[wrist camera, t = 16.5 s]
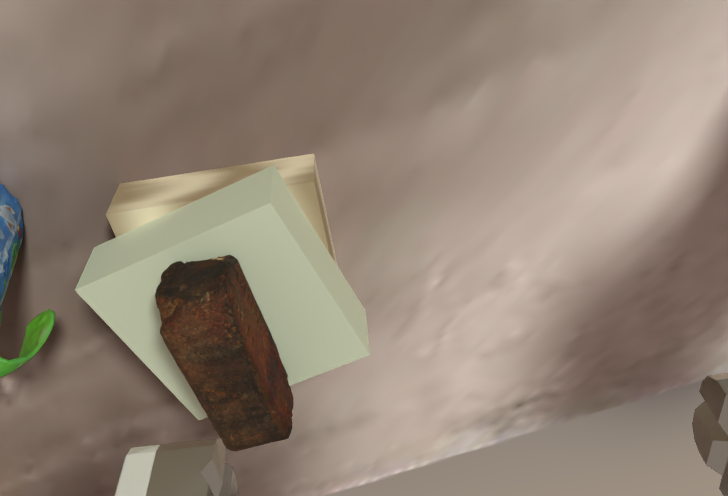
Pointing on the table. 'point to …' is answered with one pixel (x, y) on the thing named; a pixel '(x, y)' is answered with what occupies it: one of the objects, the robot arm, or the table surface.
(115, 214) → the lower slab
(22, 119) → the table surface
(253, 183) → the upper slab
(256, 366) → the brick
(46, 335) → the snack cup
